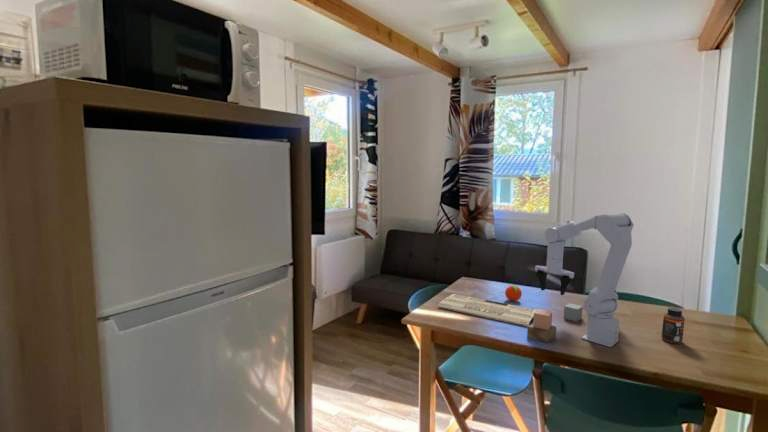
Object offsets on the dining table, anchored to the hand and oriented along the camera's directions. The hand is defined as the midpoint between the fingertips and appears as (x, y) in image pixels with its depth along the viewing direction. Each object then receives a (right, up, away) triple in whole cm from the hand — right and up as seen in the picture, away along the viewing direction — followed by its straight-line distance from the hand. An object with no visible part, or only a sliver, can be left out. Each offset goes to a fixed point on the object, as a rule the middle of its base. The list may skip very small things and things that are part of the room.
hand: (552, 292), depth 163 cm
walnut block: (-11, -13, -18) cm, 24 cm away
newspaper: (-24, -10, +8) cm, 27 cm away
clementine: (-9, -8, +20) cm, 24 cm away
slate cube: (+8, -11, +1) cm, 14 cm away
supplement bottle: (+34, -14, -19) cm, 41 cm away
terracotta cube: (-11, -9, -18) cm, 22 cm away
